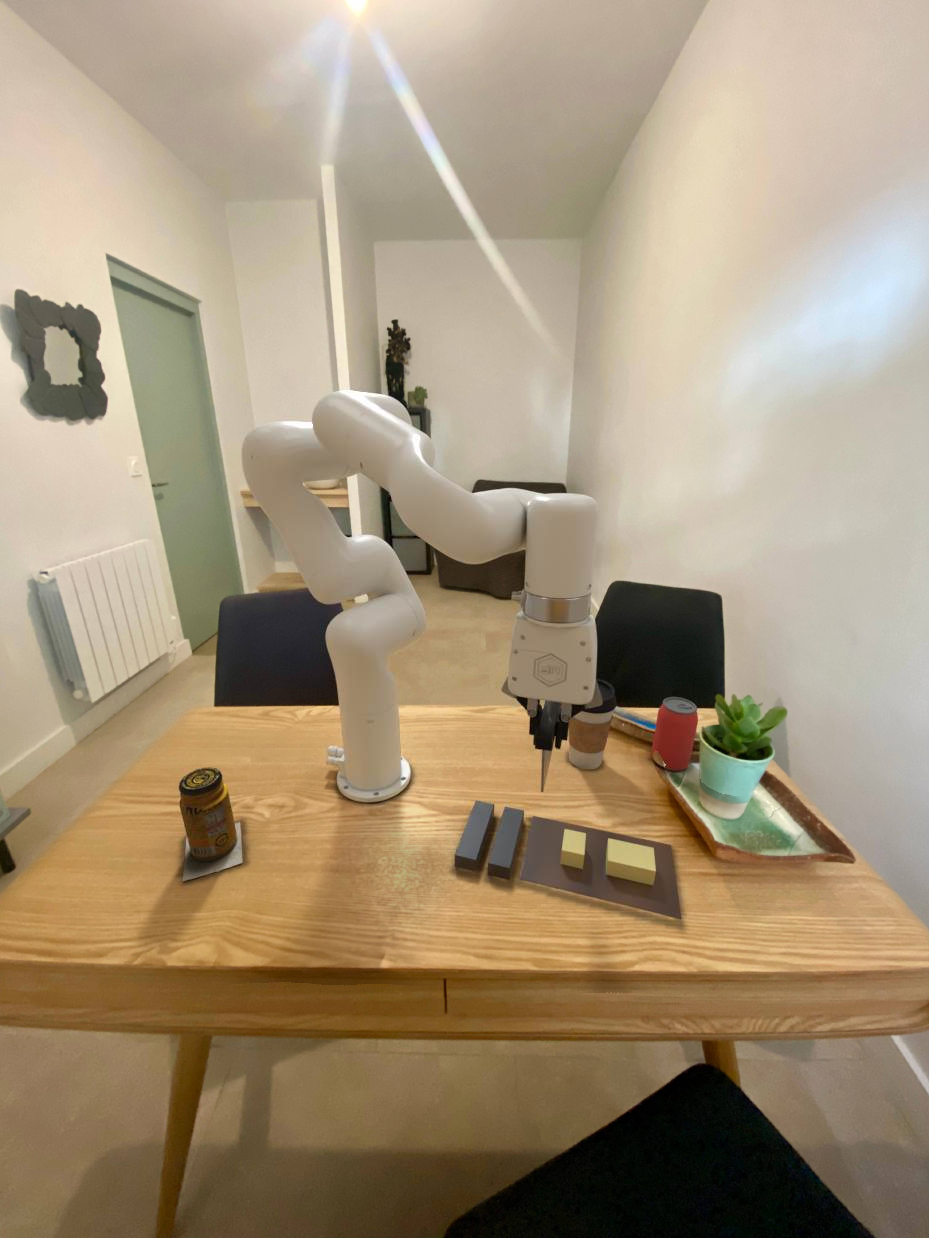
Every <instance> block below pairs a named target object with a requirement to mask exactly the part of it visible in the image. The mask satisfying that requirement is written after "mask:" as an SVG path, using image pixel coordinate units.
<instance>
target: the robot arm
mask: <svg viewBox="0 0 929 1238" xmlns="http://www.w3.org/2000/svg"><path fill="white" fill-rule="evenodd" d="M435 454H436V451H435V446H434V443H433V440H432V439H431V438H430V436H429V435H428V434H426V433H425V432H423V431H422V430H420V429H418V428H417V427H415V426H413V422H412V418H411V416H410V413H409V411H408V410H407V408H406V407H405V406H404V405H403V404H402V403H401V402H400V401H399V400H398V399H396V398H394V397H393V396H390V395H387V394H381V393H373V392H365V391H363V392H362V391H356V390H346V389H345V390H343V389H342V390H336V391H335V390H334V391H332V392H329V393H327V394H325V395H324V396H323V397H321V398H320V399H319V400H318V402H317V403H316V404H315V406H314V408H313V411H312V413H311V421H296V420H295V421H294V420H281V421H279V420H278V421H271V422H265V423H261V424H259V425H257V426H255V427H252V429H250V431H248V432H247V434H246V435H245V437H244V438H243V442H242V447H241V465H242V471H243V475H244V479H245V483H246V484H247V487H248V489H249V492H250V493H251V496H252V497H253V499H254V500H255V501H256V503H257V504H258V506H259V507H260V509H261V511H263V513H264V514H265V515H266V517H267V518H268V519H269V520H270V522H271V523H272V525H273V526H274V528H275V529H276V531H277V532H278V534H279V536H280V537H281V539H282V541H283V544H284V546H285V548H286V550H287V551H288V553H289V556H290V557H291V559H292V561H293V563H294V565H295V567H296V569H297V570H298V573H299V574H300V577H301V578H302V580H303V582H304V584H305V585H306V587H307V590H308V591H309V592H310V594H311V595H312V597H313V598H314V599H315V600H316V601H317V602H319V603H321V604H322V605H336V604H340V603H344V602H347V601H350V600H353V599H356V598H358V597H361V596H364V595H366V596H367V597H368V599H369V600H367V601H365V602H362V603H359V604H357V605H354V606H351V607H349V608H347V609H345V610H343V611H341V612H340V613H338V614H336V615H335V616H334V617H333V618H332V619H331V620H330V622H329V624H327V627H326V631H325V636H324V637H325V644H326V649H327V653H328V655H329V658H330V661H331V665H332V669H333V672H334V676H335V677H334V678H335V682H336V689H337V699H338V700H337V701H338V706H339V716H340V717H339V719H340V727H341V728H340V729H341V738H342V747H341V746H336V745H329V746H328V748H327V750H326V755H327V756H328V757H327V758H326V760H325V761H326V762H325V764H326V765H329V766H335V767H337V768H338V769H339V770H338V772H337V775H336V783H337V788H338V790H339V792H340V793H341V794H342V795H343V796H344V797H346V798H348V799H350V800H351V801H354V802H360V803H377V802H382V801H386V800H388V799H392V798H393V797H395V796H397V795H398V794H400V793H401V792H402V791H403V790H404V789H406V787H407V786H408V784H409V783H410V780H411V776H412V773H411V766H410V763H409V762H408V760H407V759H405V757H403V756H402V750H401V749H402V746H401V745H402V744H401V727H400V725H401V724H400V706H399V705H400V704H399V690H398V683H397V680H396V677H395V676H394V674H393V672H391V670H390V669H389V667H388V665H387V662H388V660H389V659H390V658H391V657H393V656H394V655H396V654H397V653H400V652H401V651H403V650H406V649H407V648H410V647H411V646H413V645H414V644H416V643H418V641H420V640H421V639H422V638H423V636H424V634H425V632H426V630H427V615H426V612H425V609H424V606H423V604H422V602H421V601H422V600H421V599H420V597H419V595H418V594H417V591H416V590H415V588H414V585H413V584H412V582H411V580H410V578H409V576H408V574H407V572H406V570H405V568H404V566H403V564H402V563H401V560H400V559H399V557H398V555H397V553H396V551H395V550H394V549H393V548H392V546H391V545H390V544H389V543H388V542H387V541H385V540H384V539H383V538H381V537H379V536H377V535H375V534H359V535H353V536H349V537H348V536H346V535H345V534H344V533H343V531H342V529H341V528H340V526H339V525H338V523H337V520H336V519H335V516H334V514H333V513H332V511H331V510H330V509H329V507H328V506H327V505H326V503H324V501H322V500H321V499H320V497H318V496H317V495H315V494H314V493H313V492H312V491H310V490H309V489H308V488H306V487H305V485H304V482H317V481H318V482H319V481H331V480H332V481H333V480H342V479H345V478H346V479H347V478H349V477H353V476H355V475H358V474H362V475H363V476H365V478H368V479H369V480H371V481H372V482H374V483H375V484H376V485H378V486H379V487H381V488H383V489H384V490H385V491H386V492H388V493H389V494H390V497H391V502H392V505H393V507H394V508H395V511H396V512H397V514H398V516H399V518H400V519H401V521H402V522H403V525H405V526H406V527H407V528H408V529H409V530H410V531H411V532H412V533H413V534H414V535H415V536H416V537H418V538H419V539H421V540H422V541H424V542H425V543H427V544H428V545H430V546H431V547H433V548H434V549H435V550H437V551H439V552H440V553H441V554H443V555H445V556H447V557H449V558H450V559H453V560H454V561H457V562H460V563H462V564H467V565H481V564H485V563H488V562H490V561H493V560H496V559H498V558H500V557H503V556H506V555H509V554H514V553H517V552H520V551H525V559H524V560H525V562H524V563H525V564H524V587H523V588H522V590H518V591H512V592H511V600H510V601H511V603H513V604H517V605H519V606H520V608H521V610H520V611H519V612H518V613H517V614H516V616H515V620H514V622H513V623H514V624H513V629H512V633H511V641H510V649H509V662H508V672H507V677H506V678H505V681H504V682H503V683H502V687H501V688H500V689H501V692H502V693H503V694H504V695H506V696H509V697H510V698H512V699H515V700H516V701H517V702H518V703H519V704H520V705H521V707H523V709H524V710H525V711H526V714H527V716H528V717H529V727H528V735H529V736H533V739H532V741H533V742H532V746H535V735H536V731H537V728H538V724H539V721H540V719H541V716H542V712H543V706H542V705H541V701H544V702H545V701H553V702H560V703H561V708H560V711H559V712H558V717H557V721H556V735H555V739H554V748H555V749H556V750H561V747H562V742H563V741H565V742H566V741H568V739H569V721H570V720H571V718H572V717H574V716H575V715H577V714H578V713H580V712H581V711H583V710H584V709H586V708H588V709H589V708H593V707H598V706H601V705H602V703H603V697H602V694H601V691H600V689H599V686H598V683H597V681H596V679H597V667H598V665H597V663H598V634H597V633H598V631H597V624H596V620H595V617H594V615H592V614H591V613H590V612H591V604H592V603H591V601H592V591H593V589H592V588H593V577H594V567H595V558H596V557H595V556H596V544H597V532H598V521H599V520H598V519H599V506H598V503H597V501H596V500H595V499H594V498H593V497H591V496H589V495H587V494H581V493H570V492H569V493H568V492H553V493H542V492H536V491H531V490H527V489H523V488H517V487H516V488H515V487H506V488H505V487H504V488H499V489H490V490H484V491H477V492H470V491H468V490H466V489H465V488H463V487H461V486H460V485H458V484H456V483H455V482H453V481H451V480H449V479H448V478H446V477H445V476H443V475H442V474H440V473H439V472H438V471H436V470H435V469H433V466H434V463H435V457H436V455H435Z"/></svg>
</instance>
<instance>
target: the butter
mask: <svg viewBox="0 0 929 1238" xmlns="http://www.w3.org/2000/svg"><path fill="white" fill-rule="evenodd" d="M655 874H656V867H655V856H654V848H652V847H647V846H642V845H638V844H633V843H628V842H624V841H619V840H615V839H610V838H608V842H607V849H606V875H610V876H615V877H619V878H623V879H627V880H632V881H636V882H640V883H644V884H649V885H653V884H654V879H655Z"/></svg>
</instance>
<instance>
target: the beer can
mask: <svg viewBox="0 0 929 1238" xmlns="http://www.w3.org/2000/svg"><path fill="white" fill-rule="evenodd" d="M698 724H699V716H698V707H697V705H696V704H695V703H694V702H692V701H691V700H689V699H687V698H684V697H678V696H670V697H666V698H664V699H663V700H662V704H661V705H660V706H659V708H658V711H657V716H656V723H655V729H654V732H653V740H652V745H651V752H650V758H651V759H652V761H653V762H654V758H653V752H654V751H655V750H656V751H658V753H659V755H661V757H662V759H663V761H664V763H665V764H666V766H665V768H664V770H667V771H673V772H679V771H680V772H681V771H684V770H685V769H688V768H689V765H690V762H691V758H692V753H693V748H694V742H695V738H696V734H697V728H698Z"/></svg>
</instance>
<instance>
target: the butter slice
mask: <svg viewBox="0 0 929 1238" xmlns="http://www.w3.org/2000/svg"><path fill="white" fill-rule="evenodd" d="M585 841H586V833H582V832H577V831H573V830H568V829H564V837H563V844H562V853H561V863H560V864H563V865H567V866H572V867H576V868H580V869H583V863H584V855H585Z"/></svg>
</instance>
